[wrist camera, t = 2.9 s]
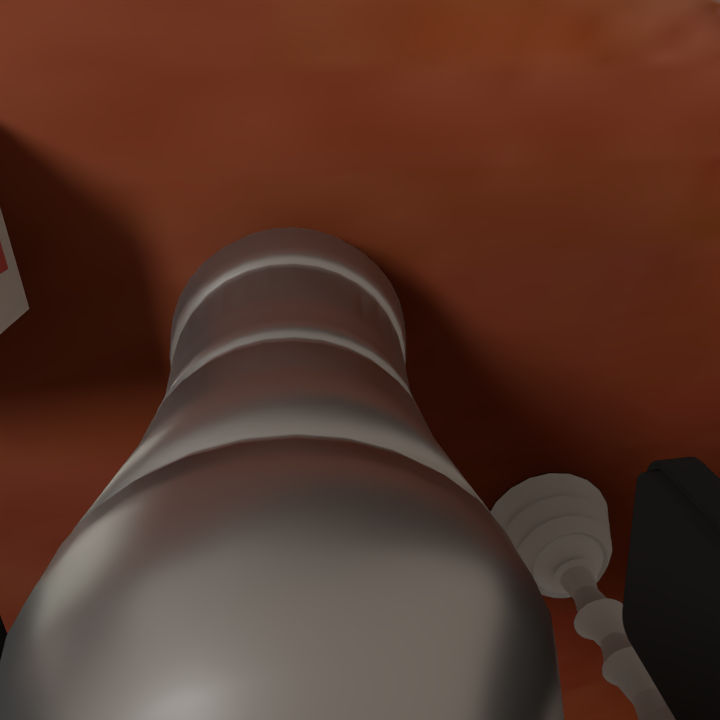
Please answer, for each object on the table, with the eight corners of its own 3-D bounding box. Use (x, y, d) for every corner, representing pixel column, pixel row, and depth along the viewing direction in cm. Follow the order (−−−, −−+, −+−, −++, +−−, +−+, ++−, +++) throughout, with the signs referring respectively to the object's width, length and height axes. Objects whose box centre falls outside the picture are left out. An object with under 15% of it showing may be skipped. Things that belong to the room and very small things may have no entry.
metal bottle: (402, 383, 23) (894, 1622, 4) (208, 416, 22) (-133, 1893, 4) (378, 196, 20) (1321, 1285, 2) (159, 231, 20) (-1330, 1943, 2)
